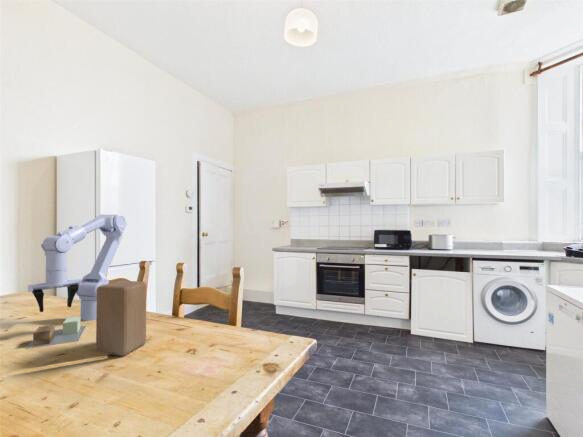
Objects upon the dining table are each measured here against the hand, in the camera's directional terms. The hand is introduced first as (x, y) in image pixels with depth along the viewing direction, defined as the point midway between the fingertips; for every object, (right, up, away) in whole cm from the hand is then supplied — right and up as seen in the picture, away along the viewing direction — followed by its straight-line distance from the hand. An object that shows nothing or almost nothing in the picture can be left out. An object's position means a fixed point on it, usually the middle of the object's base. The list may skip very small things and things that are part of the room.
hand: (55, 309), depth 103 cm
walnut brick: (+4, -7, -10) cm, 13 cm away
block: (+30, -9, -12) cm, 34 cm away
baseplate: (+5, -9, -5) cm, 11 cm away
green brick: (+6, -8, -1) cm, 10 cm away
